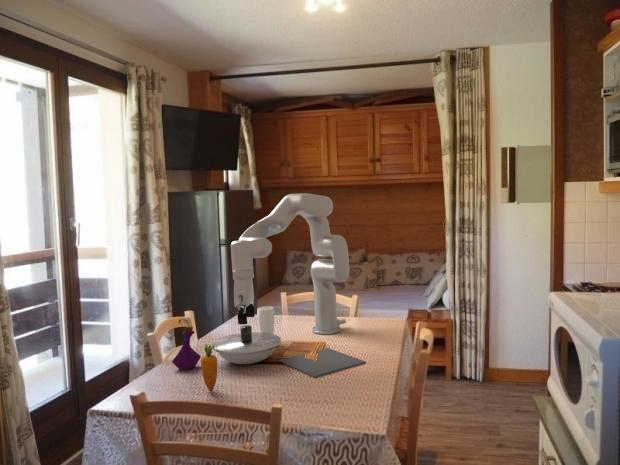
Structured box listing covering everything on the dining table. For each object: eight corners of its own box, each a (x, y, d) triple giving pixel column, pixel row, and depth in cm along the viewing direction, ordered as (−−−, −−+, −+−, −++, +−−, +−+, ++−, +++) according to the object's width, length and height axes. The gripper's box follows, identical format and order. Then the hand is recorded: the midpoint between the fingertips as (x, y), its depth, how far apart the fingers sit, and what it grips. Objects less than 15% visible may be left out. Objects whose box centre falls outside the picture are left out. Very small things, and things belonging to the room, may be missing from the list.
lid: (259, 330, 204) (258, 315, 204) (294, 343, 184) (293, 326, 184) (200, 343, 190) (199, 326, 189) (231, 358, 169) (230, 340, 169)
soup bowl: (253, 376, 171) (252, 357, 170) (199, 366, 183) (198, 348, 183) (292, 356, 191) (291, 338, 191) (242, 348, 204) (241, 332, 203)
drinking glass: (276, 342, 210) (275, 306, 209) (274, 347, 203) (272, 309, 202) (260, 342, 211) (258, 306, 210) (257, 347, 204) (255, 310, 203)
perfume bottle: (201, 365, 184) (198, 316, 183) (190, 372, 177) (187, 321, 176) (184, 363, 187) (181, 315, 186) (172, 370, 180) (168, 320, 179)
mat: (327, 349, 197) (327, 347, 197) (365, 363, 179) (365, 361, 179) (279, 361, 184) (278, 360, 184) (314, 377, 166) (314, 376, 166)
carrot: (203, 389, 161) (200, 342, 160) (219, 388, 161) (216, 341, 160) (201, 395, 156) (198, 346, 155) (218, 393, 156) (215, 345, 155)
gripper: (240, 270, 194) (243, 314, 196) (225, 279, 177) (229, 327, 179) (259, 269, 193) (262, 314, 194) (246, 278, 176) (249, 327, 177)
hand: (246, 320), depth 187 cm, fingers open, 9 cm apart
